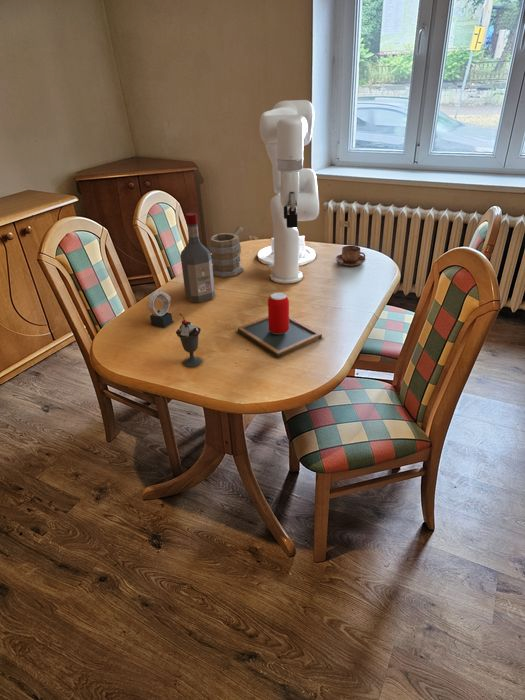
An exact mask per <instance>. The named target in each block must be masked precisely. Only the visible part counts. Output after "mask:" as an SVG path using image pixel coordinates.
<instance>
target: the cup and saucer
mask: <svg viewBox="0 0 525 700" xmlns="http://www.w3.org/2000/svg"><path fill="white" fill-rule="evenodd" d="M335 261H336V262H337V263H338V264H340V265H342V266H346V267H347V266H348V267H356V266H359V265H362V264H364V263H365V261H366V254H365V252H362V251H361V247H360V246H357V245H344V246H342V248H341V254H339V255H337V256H335Z"/></svg>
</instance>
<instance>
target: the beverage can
mask: <svg viewBox="0 0 525 700" xmlns="http://www.w3.org/2000/svg"><path fill="white" fill-rule="evenodd" d="M267 316H268V322H269V331H270V332H271V333H274V334H277V335H280V334H283V333H286V332H287V331H288V330H289V317H290V300H289V297H288V296H287V294H285V293H283V292H273V293H271V294H270V296H269V297H268V299H267Z"/></svg>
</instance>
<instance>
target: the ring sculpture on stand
mask: <svg viewBox="0 0 525 700" xmlns="http://www.w3.org/2000/svg"><path fill="white" fill-rule="evenodd" d="M156 299H158V300H159V301H161V303H162V307H161V309H159V310H157V309H156V308H155V305H154V304H155V300H156ZM171 299H172V298H171V296H170V295H169V294H168V293H166V292H165V291H163V290H155V291H153V292H152V293H150V295H149V297H148V301H147V307H148V311H149V312H150V315H149V320H150V325H152V326H156V327H159V328H166V327H167V326H169V325H171V324H173V323H174V320H173V313H171V312H168V311H169V309H170V305H171Z"/></svg>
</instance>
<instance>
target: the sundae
mask: <svg viewBox="0 0 525 700" xmlns="http://www.w3.org/2000/svg"><path fill="white" fill-rule="evenodd" d="M179 316H181V317H182V319H183V320H181V325H180V326H179V328H178V329H177V330H176V331H175V334H176V336H177V337H178V338H179V339H180V343H181V346H182V348H183V350H184V351H185V352H186V353H189V357H188V358H186V359H184V361H183V364H184V366H186V367H188V368H194V367H198V366H200V365H201V363H202V359H201V358H200V357H198V356H195V354H194V353H195V352H196V351H197V349H198V348H199V335H200V333H201V328H200V327H198V326H196V325H194V324H193V323H192V322H191V321H187V320H185V317H184V315H182V313H179Z"/></svg>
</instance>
